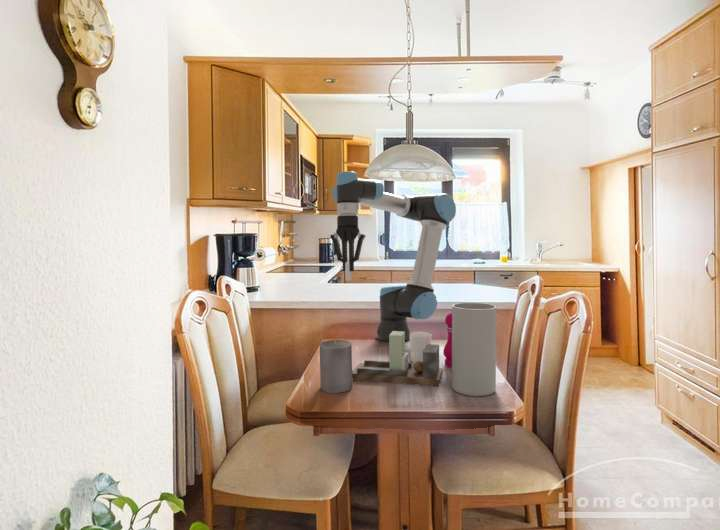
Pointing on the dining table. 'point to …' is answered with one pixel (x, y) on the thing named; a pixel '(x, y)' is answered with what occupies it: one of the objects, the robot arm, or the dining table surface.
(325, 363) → the pillar candle
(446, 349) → the pink bowling pin
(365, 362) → the press bench
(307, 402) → the dining table surface
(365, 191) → the robot arm
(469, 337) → the cylinder vase
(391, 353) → the block
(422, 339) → the white cup
